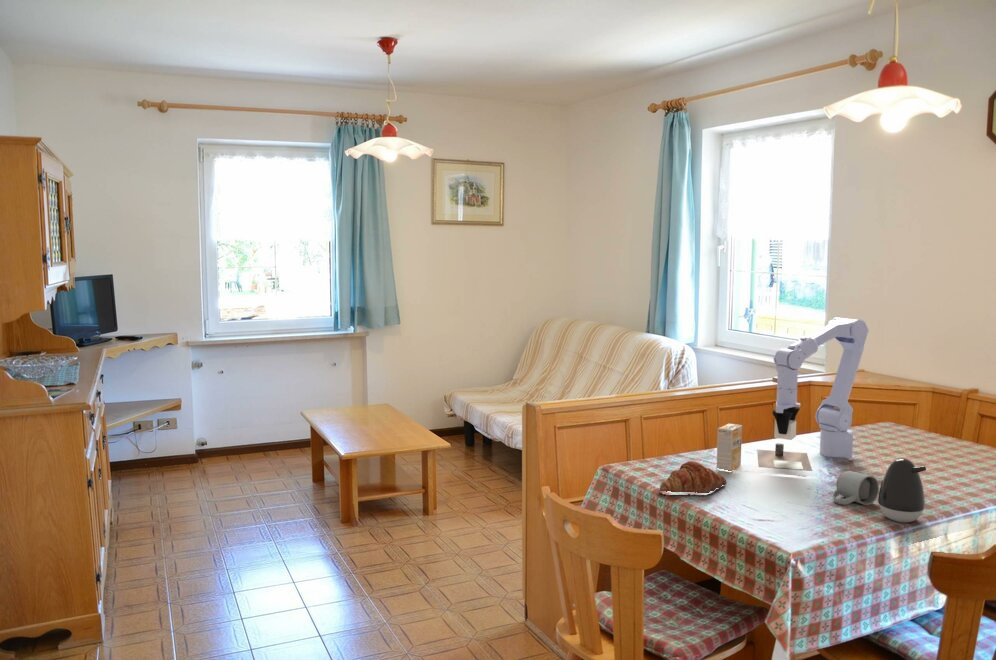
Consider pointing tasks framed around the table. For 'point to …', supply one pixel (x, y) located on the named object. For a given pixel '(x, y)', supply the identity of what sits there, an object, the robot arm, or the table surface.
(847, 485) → the ceramic mug
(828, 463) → the table surface
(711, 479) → the pastry
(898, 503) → the pump dispenser
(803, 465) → the walnut board
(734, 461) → the supplement box
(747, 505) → the table surface
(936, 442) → the table surface
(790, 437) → the off-white matte cube
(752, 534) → the table surface
